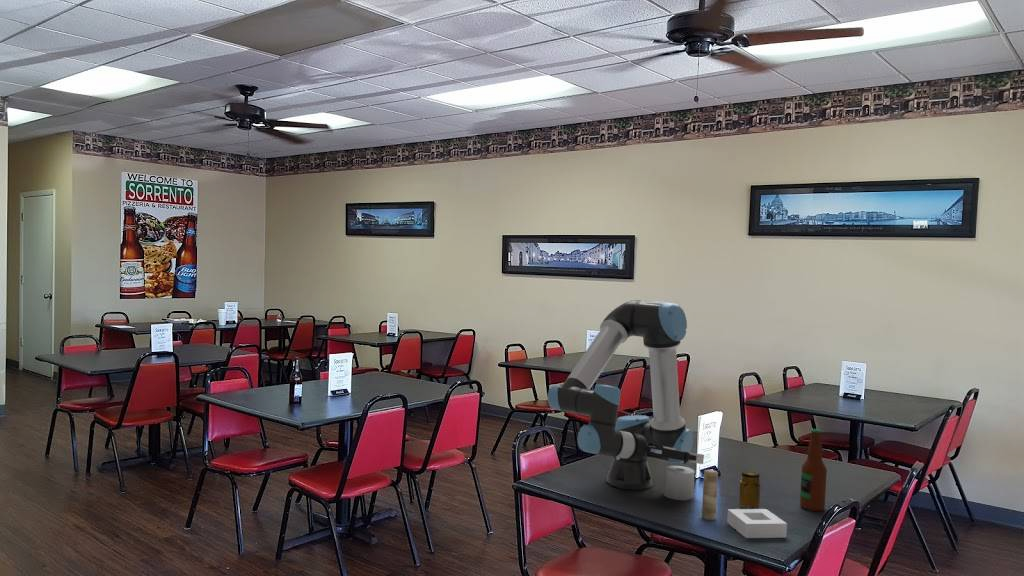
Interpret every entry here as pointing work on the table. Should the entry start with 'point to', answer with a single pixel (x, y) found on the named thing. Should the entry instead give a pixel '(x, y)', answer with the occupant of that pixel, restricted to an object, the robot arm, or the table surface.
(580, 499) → the table surface
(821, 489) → the bottle
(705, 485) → the dowel
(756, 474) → the condiment
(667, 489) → the toilet tissue
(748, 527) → the socket
